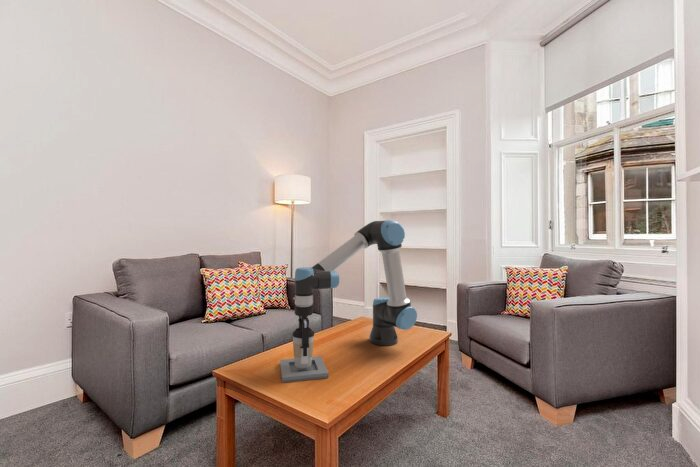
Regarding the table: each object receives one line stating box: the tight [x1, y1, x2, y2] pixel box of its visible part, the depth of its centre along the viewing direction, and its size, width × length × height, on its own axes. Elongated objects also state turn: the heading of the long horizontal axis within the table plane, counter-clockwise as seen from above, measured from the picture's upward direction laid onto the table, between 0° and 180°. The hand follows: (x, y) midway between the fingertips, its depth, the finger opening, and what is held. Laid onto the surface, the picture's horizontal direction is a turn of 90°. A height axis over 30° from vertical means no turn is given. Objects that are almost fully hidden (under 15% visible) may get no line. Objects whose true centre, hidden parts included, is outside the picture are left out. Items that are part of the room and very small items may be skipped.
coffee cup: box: [292, 327, 315, 368], centre depth 138 cm, size 9×9×15 cm
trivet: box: [279, 355, 329, 383], centre depth 138 cm, size 18×18×2 cm
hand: (303, 359), depth 138 cm, fingers closed on coffee cup, 8 cm apart
